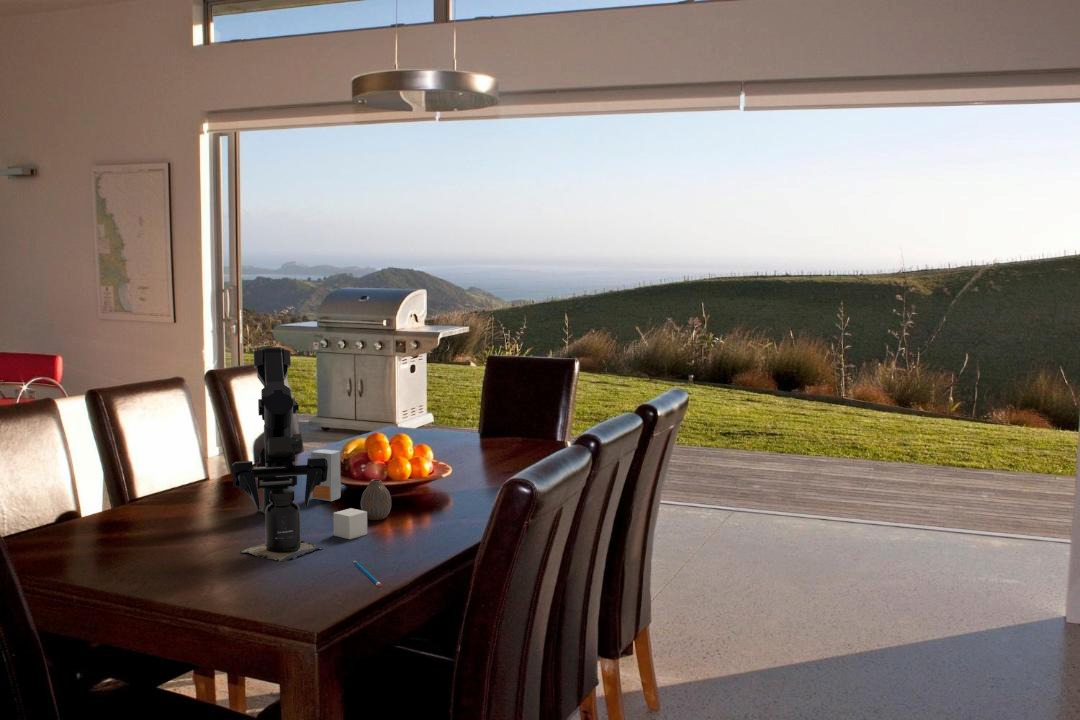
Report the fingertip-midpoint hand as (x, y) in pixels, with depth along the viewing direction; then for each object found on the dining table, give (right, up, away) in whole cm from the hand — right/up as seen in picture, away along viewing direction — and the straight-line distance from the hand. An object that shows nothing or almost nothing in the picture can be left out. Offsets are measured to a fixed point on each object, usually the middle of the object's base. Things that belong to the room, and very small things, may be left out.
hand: (282, 507), depth 187 cm
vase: (+14, -7, +27) cm, 31 cm away
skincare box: (-2, -5, +46) cm, 46 cm away
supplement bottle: (0, -9, +2) cm, 9 cm away
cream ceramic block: (+11, -8, +14) cm, 19 cm away
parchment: (0, -9, +2) cm, 10 cm away
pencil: (+19, -11, -12) cm, 25 cm away
